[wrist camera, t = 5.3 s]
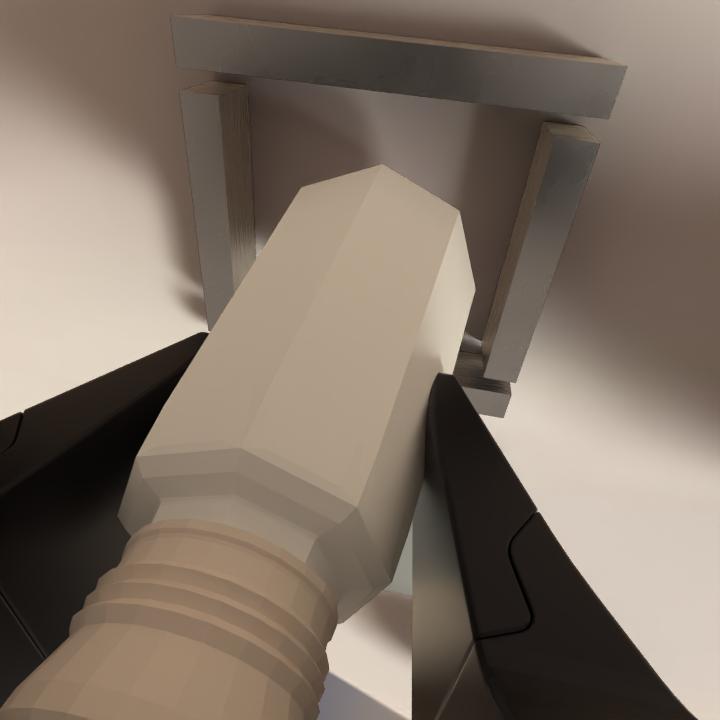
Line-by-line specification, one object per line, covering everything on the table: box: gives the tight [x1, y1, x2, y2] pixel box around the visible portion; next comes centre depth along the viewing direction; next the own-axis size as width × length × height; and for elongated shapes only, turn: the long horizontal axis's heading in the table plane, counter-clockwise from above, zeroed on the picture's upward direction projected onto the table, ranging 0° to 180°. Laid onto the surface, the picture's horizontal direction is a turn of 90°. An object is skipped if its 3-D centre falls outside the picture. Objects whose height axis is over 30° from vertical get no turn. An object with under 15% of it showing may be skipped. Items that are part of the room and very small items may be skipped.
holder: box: [170, 15, 627, 418], centre depth 14 cm, size 10×10×2 cm
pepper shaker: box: [0, 164, 476, 720], centre depth 8 cm, size 5×5×11 cm
